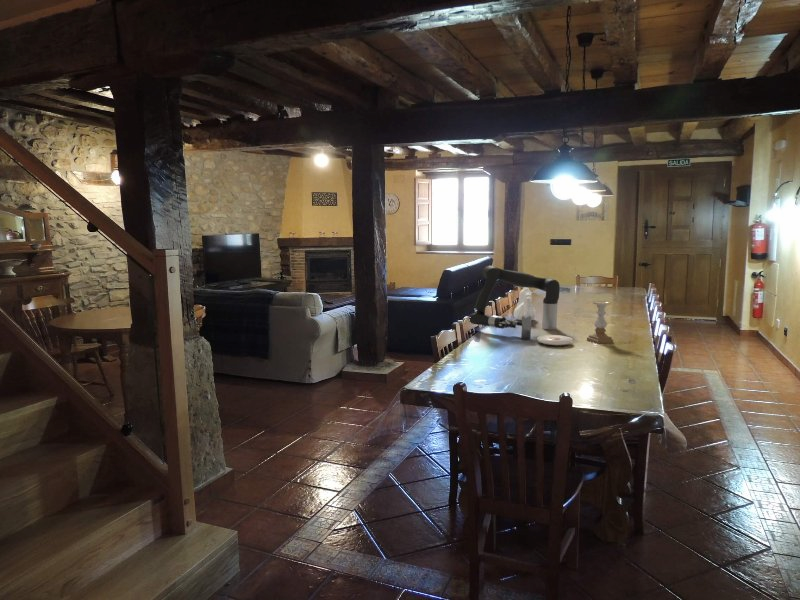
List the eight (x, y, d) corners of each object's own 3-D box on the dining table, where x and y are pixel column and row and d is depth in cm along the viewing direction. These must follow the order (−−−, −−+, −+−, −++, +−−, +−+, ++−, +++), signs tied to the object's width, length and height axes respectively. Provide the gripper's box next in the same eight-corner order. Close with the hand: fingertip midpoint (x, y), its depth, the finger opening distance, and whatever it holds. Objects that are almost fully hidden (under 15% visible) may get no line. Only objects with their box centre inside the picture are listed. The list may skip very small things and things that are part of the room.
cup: (522, 337, 346) (523, 315, 344) (531, 338, 344) (532, 316, 342) (520, 339, 341) (521, 316, 339) (529, 340, 339) (530, 317, 337)
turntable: (540, 336, 343) (540, 333, 342) (574, 339, 335) (574, 336, 334) (534, 343, 325) (534, 340, 324) (570, 346, 317) (570, 343, 316)
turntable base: (544, 340, 339) (544, 337, 339) (568, 342, 333) (568, 339, 333) (540, 345, 326) (540, 342, 326) (565, 347, 321) (565, 344, 320)
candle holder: (586, 340, 338) (588, 301, 335) (601, 339, 341) (603, 300, 338) (598, 344, 328) (599, 303, 324) (613, 342, 331) (615, 302, 328)
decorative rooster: (514, 317, 415) (515, 284, 411) (536, 318, 411) (537, 284, 407) (511, 323, 391) (512, 288, 388) (534, 324, 387) (536, 289, 383)
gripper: (490, 317, 350) (512, 320, 339) (503, 314, 360) (525, 317, 349) (490, 329, 351) (512, 332, 340) (503, 326, 362) (525, 329, 350)
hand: (519, 325), depth 345 cm, fingers open, 8 cm apart
